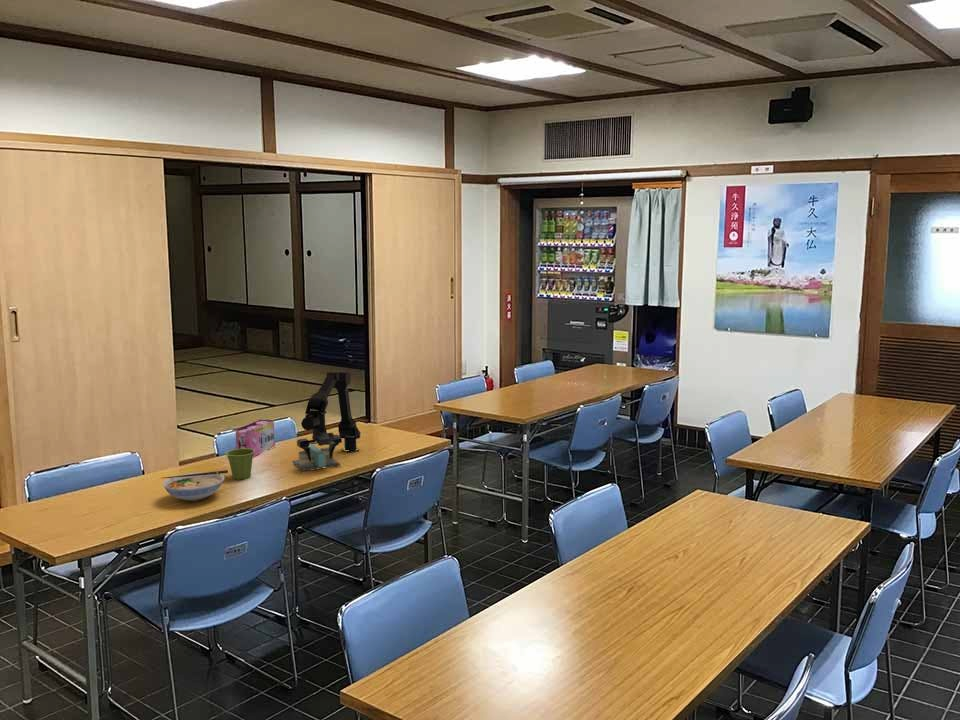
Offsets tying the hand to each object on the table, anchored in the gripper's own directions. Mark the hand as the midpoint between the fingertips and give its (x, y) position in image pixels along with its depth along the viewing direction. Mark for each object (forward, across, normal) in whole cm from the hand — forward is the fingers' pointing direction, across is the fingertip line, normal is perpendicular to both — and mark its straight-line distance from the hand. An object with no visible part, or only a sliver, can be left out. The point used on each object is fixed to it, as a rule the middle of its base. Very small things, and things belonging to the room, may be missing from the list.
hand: (320, 460), depth 353 cm
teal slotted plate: (+2, 0, +6) cm, 7 cm away
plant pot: (+4, -34, +2) cm, 34 cm away
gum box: (+4, -19, +43) cm, 47 cm away
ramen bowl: (+4, -56, -18) cm, 58 cm away
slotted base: (+4, 0, +6) cm, 7 cm away
